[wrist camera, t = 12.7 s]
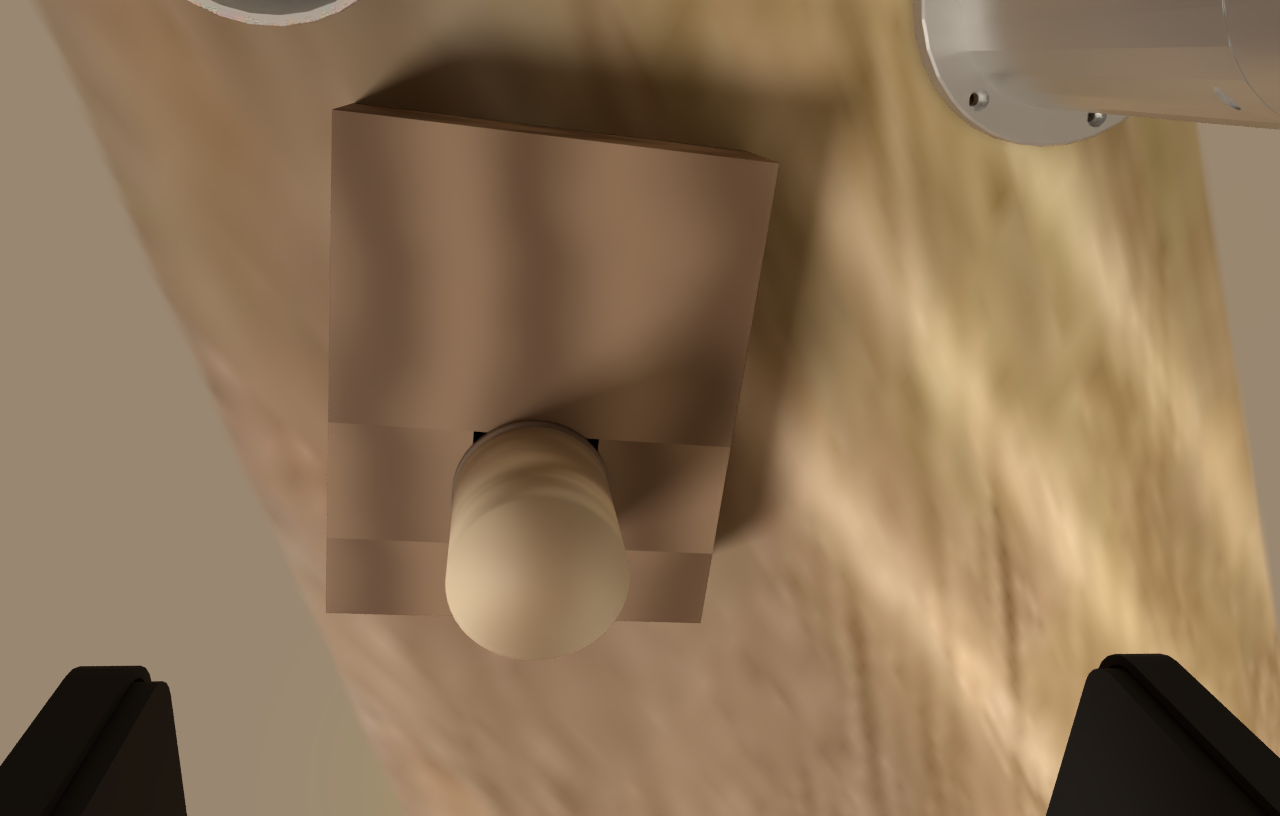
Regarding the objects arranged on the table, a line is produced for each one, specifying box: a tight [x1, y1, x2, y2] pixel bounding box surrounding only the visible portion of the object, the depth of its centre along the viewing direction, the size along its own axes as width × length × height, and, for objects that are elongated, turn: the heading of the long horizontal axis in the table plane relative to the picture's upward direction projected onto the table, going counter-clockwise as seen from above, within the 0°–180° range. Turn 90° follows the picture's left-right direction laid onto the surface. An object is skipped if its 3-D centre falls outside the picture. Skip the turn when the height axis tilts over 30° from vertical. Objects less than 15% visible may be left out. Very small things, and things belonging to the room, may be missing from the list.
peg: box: [445, 420, 630, 660], centre depth 36 cm, size 6×6×11 cm
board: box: [326, 103, 779, 623], centre depth 38 cm, size 16×20×5 cm
